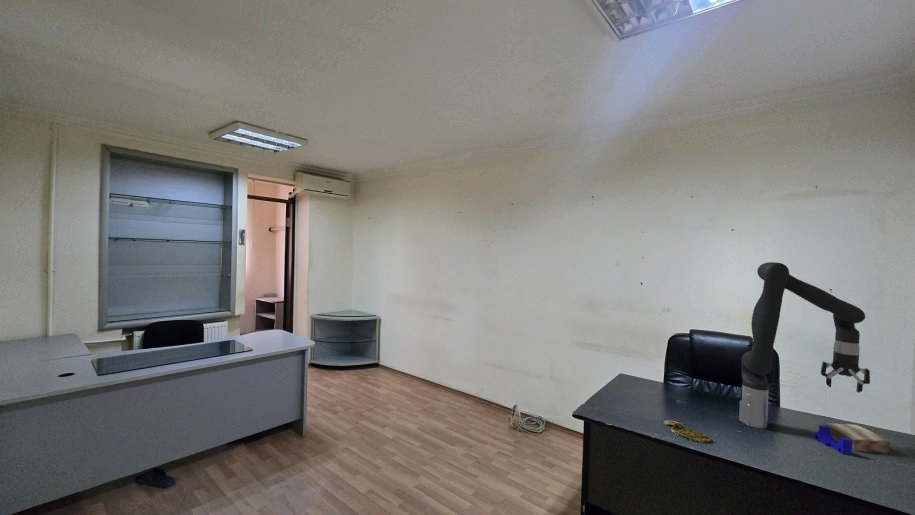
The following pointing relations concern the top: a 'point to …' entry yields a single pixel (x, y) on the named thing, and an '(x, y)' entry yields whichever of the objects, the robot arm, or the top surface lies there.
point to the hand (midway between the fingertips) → (843, 389)
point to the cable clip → (826, 438)
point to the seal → (690, 434)
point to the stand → (860, 438)
